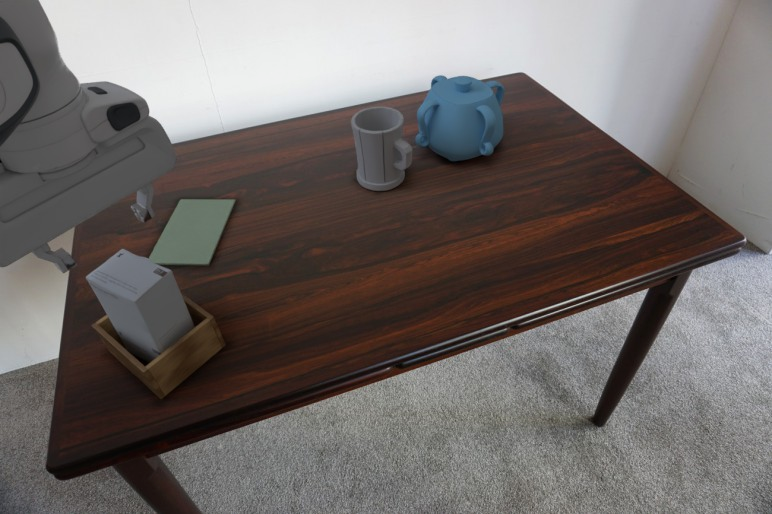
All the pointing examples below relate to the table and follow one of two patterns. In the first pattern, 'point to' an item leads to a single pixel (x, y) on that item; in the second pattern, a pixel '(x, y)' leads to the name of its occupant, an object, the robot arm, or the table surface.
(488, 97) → the decorative pot
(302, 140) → the table surface
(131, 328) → the cosmetic box
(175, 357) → the wooden box
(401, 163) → the cup
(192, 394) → the table surface
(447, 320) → the table surface
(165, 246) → the mat
